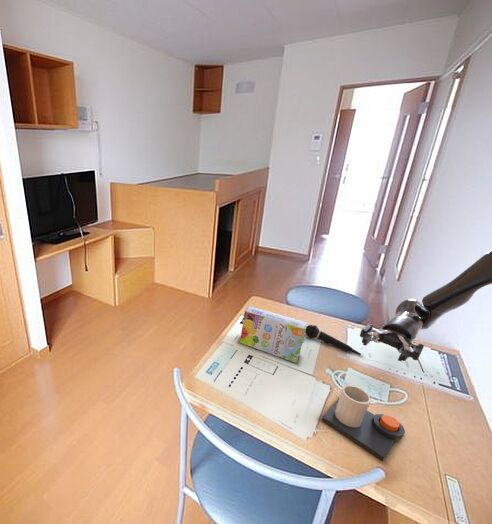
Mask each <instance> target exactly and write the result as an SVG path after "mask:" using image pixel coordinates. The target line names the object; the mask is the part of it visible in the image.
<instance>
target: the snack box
mask: <svg viewBox="0 0 492 524" xmlns="http://www.w3.org/2000/svg"><path fill="white" fill-rule="evenodd" d="M307 326H308V322H307V321H303V320H300V319H296V318H293V317H289V316H286V315H283V314H279V313H276V312H272V311H269V310H265V309H261V308H259V307H258V308H257V307H255V306H251V305H248V306H247V307H246V309H245V310H244V313H243V319H242V327H241V333H240V339H239V344H242V345H245V346H247V347H251V348H254V349H256V350H259V351H262V352H264V353H268V354H270V355H273V356H275V357H278V358H281V359H284V360H286V361H290V362H292V363H295V364H298V361H299V358H300V356H301V355H300V354H301V350H302V348H303V347H302V346H303V342H304V338H305V335H306V333H305V331H306V327H307Z"/></svg>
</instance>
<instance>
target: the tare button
mask: <svg viewBox="0 0 492 524" xmlns="http://www.w3.org/2000/svg"><path fill="white" fill-rule="evenodd" d="M399 423H400V421H398V420H397V419H396V418H395V417H393V416H391V415H390V414H389V415H388V414H384V415H382V417H381V419H380V424H381V425H382V426H383V427H384V428H385V429H387V430H389V431H392V432H396V431H397V430H398V428H399V426H400V424H401V423H400V424H399Z"/></svg>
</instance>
